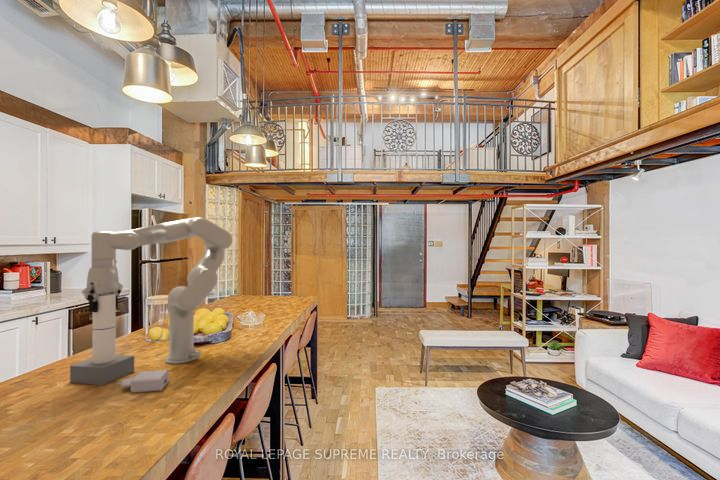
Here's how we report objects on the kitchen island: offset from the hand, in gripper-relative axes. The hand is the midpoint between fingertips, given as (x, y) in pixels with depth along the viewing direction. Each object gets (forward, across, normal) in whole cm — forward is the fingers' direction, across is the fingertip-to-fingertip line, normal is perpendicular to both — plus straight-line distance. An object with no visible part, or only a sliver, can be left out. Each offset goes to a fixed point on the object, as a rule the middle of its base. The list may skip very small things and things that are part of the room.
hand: (103, 309), depth 137 cm
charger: (+26, +6, +22) cm, 35 cm away
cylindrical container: (+20, 0, 0) cm, 20 cm away
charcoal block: (+25, 0, 0) cm, 25 cm away
